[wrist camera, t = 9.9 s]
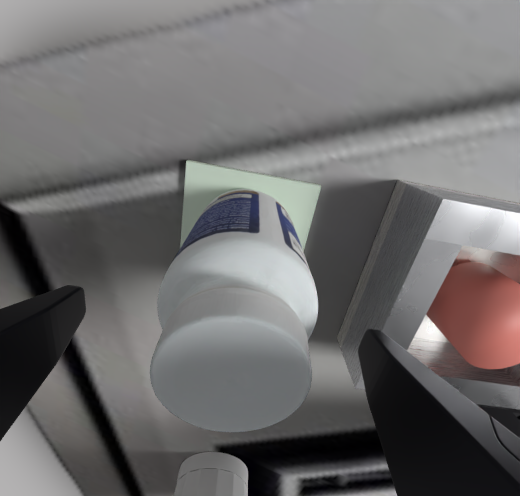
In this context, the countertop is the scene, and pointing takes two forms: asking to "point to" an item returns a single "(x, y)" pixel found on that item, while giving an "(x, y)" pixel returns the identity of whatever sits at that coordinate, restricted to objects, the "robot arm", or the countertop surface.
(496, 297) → the plunger
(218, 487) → the cup
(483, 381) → the frame
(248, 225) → the pill bottle
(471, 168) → the countertop surface
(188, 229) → the pad
